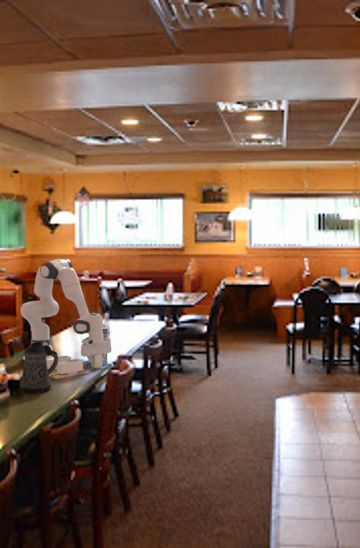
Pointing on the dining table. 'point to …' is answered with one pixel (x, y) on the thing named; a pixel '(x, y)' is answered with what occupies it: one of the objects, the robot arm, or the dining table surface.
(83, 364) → the loose relay
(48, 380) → the beer stein
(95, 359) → the module block
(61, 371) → the rail board
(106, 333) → the blue cardboard box
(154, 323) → the dining table surface
